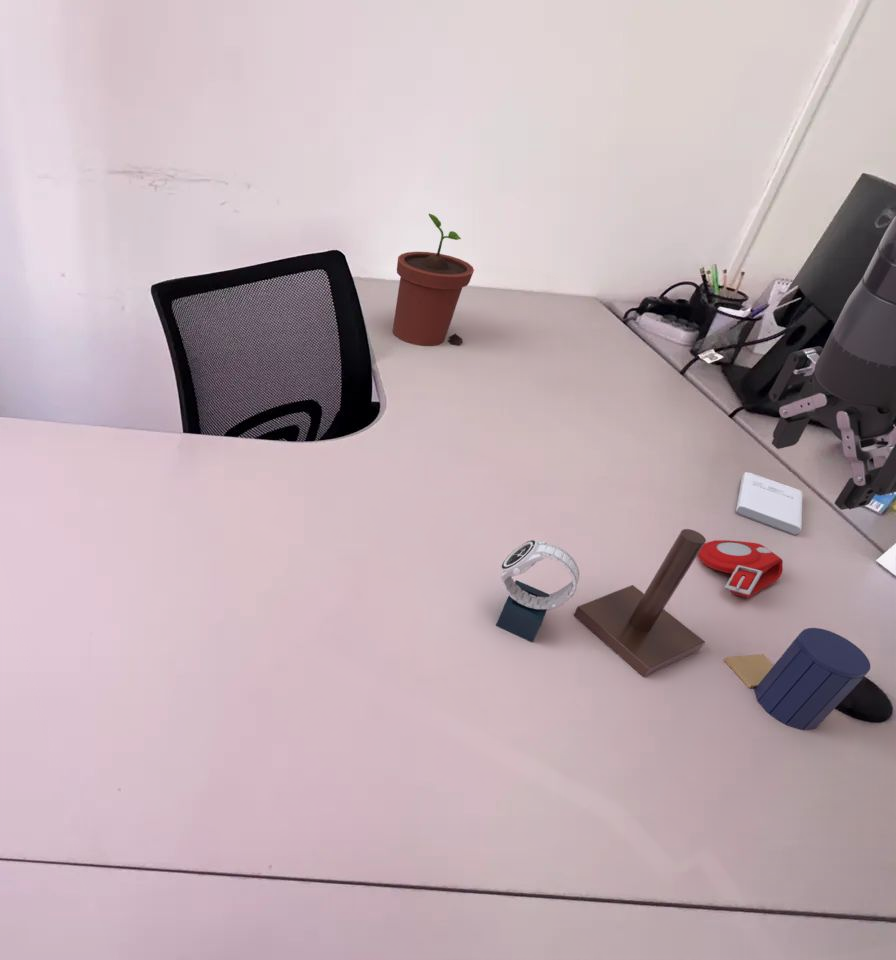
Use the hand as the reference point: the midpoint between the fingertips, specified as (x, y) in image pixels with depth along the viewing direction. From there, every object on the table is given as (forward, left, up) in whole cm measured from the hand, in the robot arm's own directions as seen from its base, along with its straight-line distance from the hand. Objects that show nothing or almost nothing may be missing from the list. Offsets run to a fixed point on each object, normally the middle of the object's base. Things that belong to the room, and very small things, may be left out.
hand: (813, 473), depth 65 cm
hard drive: (-38, -14, -25) cm, 48 cm away
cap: (-2, +8, -25) cm, 26 cm away
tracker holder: (-16, -6, -25) cm, 30 cm away
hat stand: (+6, -4, -25) cm, 26 cm away
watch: (+18, -11, -25) cm, 32 cm away
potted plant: (-27, -86, -25) cm, 94 cm away
